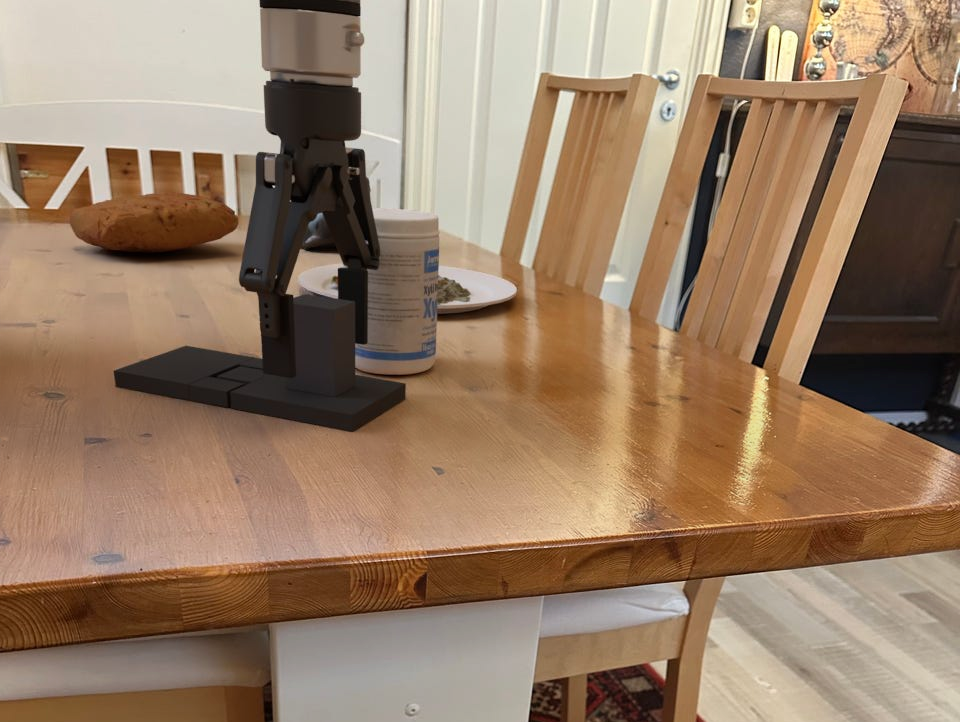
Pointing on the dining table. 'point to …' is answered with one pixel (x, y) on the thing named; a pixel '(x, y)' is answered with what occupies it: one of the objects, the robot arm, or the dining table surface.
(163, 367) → the base pad
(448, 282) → the plated food
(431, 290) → the supplement tub
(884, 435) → the dining table surface
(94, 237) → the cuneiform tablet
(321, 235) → the blue creature figurine
